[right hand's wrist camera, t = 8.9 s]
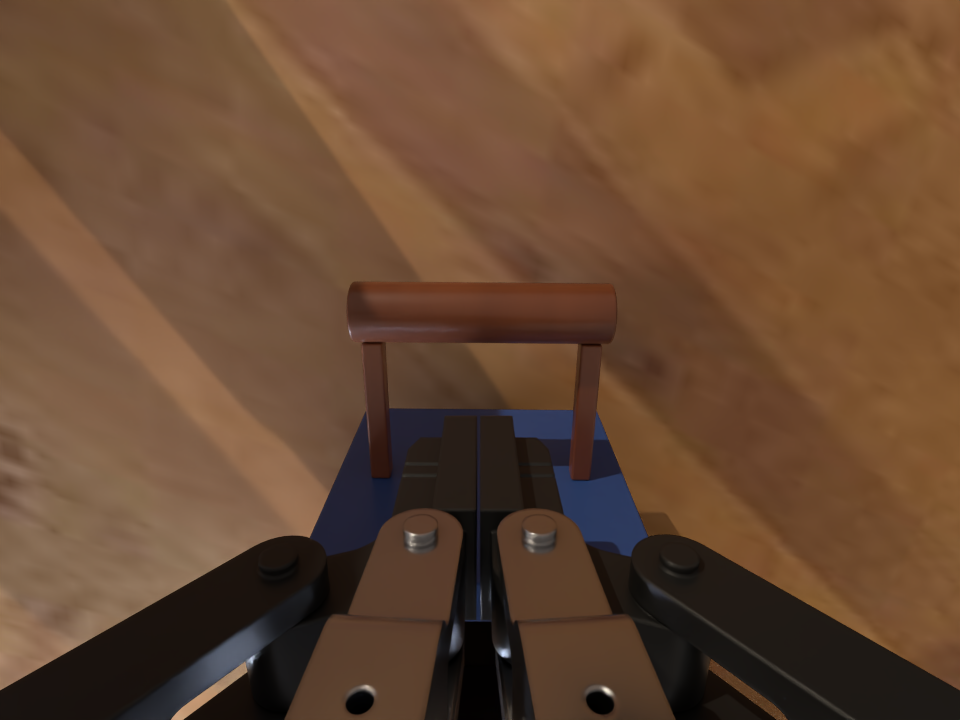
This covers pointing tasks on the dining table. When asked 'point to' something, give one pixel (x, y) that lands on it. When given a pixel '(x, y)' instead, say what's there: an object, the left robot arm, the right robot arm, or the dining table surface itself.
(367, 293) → the drawer
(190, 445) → the dining table surface
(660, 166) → the dining table surface
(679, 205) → the dining table surface
